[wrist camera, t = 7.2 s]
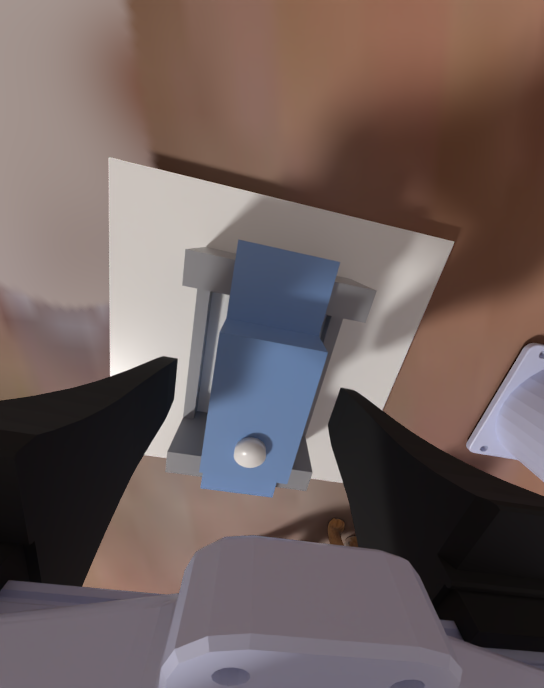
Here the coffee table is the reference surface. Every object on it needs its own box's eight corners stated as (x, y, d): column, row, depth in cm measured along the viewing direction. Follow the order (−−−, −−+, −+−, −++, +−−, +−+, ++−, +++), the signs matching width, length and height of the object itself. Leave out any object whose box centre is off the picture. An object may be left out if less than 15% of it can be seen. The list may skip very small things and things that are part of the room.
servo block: (321, 256, 12) (357, 267, 8) (270, 448, 17) (273, 536, 12) (245, 239, 12) (231, 239, 7) (213, 439, 16) (190, 527, 11)
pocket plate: (444, 241, 13) (517, 242, 10) (347, 474, 19) (368, 534, 15) (118, 162, 12) (46, 123, 8) (117, 441, 18) (74, 499, 14)
